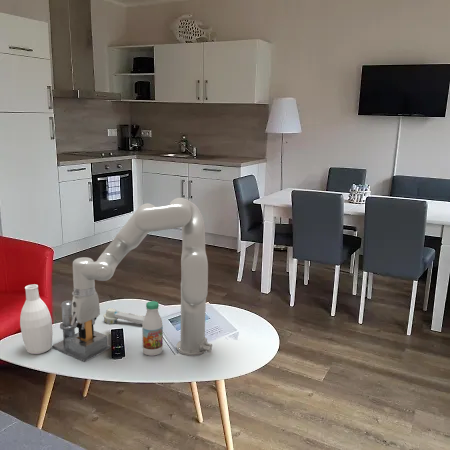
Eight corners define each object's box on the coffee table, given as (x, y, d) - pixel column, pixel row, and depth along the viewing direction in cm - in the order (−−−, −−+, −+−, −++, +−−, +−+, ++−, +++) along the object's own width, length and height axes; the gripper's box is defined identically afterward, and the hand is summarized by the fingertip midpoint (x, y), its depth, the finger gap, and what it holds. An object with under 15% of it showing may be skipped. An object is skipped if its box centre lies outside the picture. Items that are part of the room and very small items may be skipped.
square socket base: (110, 347, 178) (109, 307, 174) (84, 362, 168) (82, 319, 164) (77, 334, 188) (75, 295, 184) (50, 346, 178) (47, 306, 174)
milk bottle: (138, 351, 177) (137, 302, 172) (154, 344, 182) (154, 297, 177) (150, 358, 172) (150, 309, 167) (166, 351, 177) (166, 303, 172)
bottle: (17, 353, 172) (7, 290, 166) (37, 339, 182) (29, 279, 176) (41, 357, 169) (33, 293, 163) (61, 343, 179) (53, 282, 173)
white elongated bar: (157, 321, 194) (102, 308, 197) (155, 336, 195) (101, 322, 198) (161, 316, 199) (107, 303, 202) (159, 330, 200) (106, 317, 203)
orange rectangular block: (92, 342, 176) (91, 313, 173) (86, 345, 173) (85, 316, 171) (87, 340, 177) (85, 311, 175) (80, 343, 175) (79, 314, 172)
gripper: (73, 300, 162) (75, 347, 166) (108, 286, 175) (109, 330, 180) (59, 295, 166) (62, 341, 170) (94, 282, 179) (96, 325, 183)
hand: (86, 335), depth 175 cm, fingers closed on orange rectangular block, 3 cm apart
